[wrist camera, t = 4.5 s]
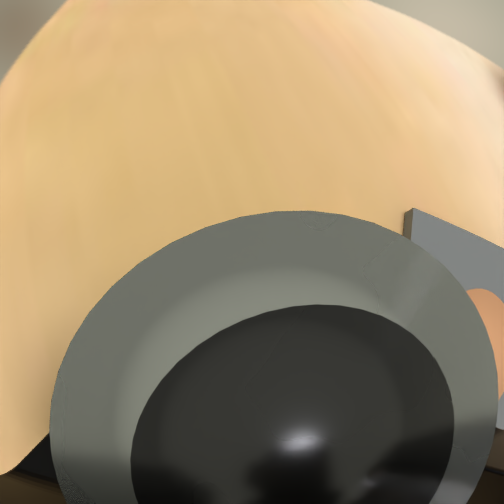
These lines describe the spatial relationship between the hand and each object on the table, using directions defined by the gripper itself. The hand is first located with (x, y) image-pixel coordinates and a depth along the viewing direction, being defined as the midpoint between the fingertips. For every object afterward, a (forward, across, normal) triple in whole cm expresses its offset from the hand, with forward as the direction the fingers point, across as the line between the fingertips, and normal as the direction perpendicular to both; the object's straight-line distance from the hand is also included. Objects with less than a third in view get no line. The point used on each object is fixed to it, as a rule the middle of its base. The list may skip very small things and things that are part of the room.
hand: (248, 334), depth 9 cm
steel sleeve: (+4, 0, +6) cm, 7 cm away
